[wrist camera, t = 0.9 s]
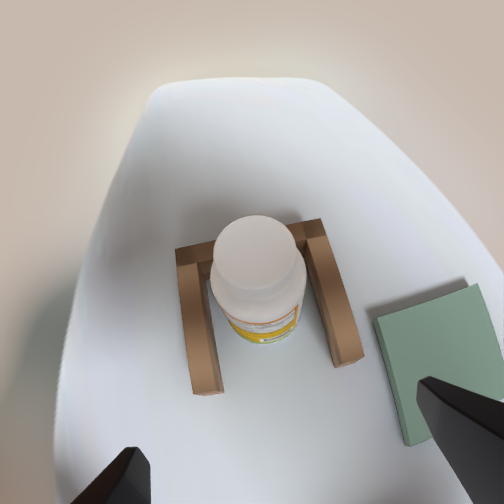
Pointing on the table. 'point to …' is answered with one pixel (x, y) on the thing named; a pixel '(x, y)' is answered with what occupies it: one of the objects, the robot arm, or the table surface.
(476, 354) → the green mat
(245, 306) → the supplement bottle
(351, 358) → the frame
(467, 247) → the table surface
